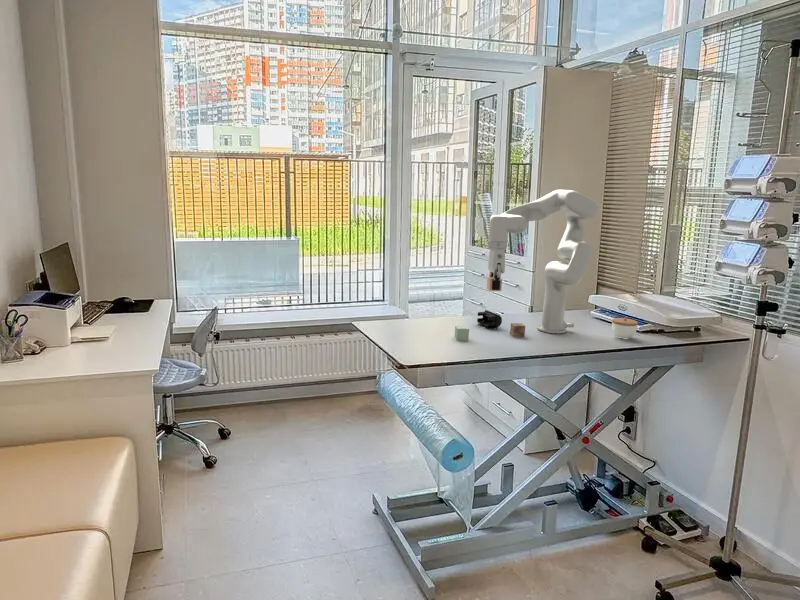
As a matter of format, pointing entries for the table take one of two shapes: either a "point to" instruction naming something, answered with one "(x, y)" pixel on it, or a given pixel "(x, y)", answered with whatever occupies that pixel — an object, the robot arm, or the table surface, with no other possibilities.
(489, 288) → the terracotta block
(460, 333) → the sage block
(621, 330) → the lidded jar
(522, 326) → the walnut block
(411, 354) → the table surface
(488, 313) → the black claw piece
